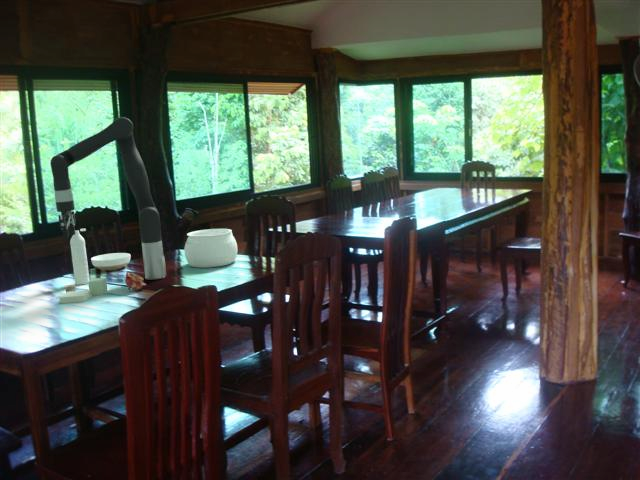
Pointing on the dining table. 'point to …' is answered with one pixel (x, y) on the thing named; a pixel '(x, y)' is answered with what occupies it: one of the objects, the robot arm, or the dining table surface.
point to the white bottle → (79, 258)
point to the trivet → (75, 296)
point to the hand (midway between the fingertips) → (69, 236)
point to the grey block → (70, 288)
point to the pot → (210, 248)
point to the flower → (133, 281)
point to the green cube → (98, 286)
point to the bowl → (111, 261)
